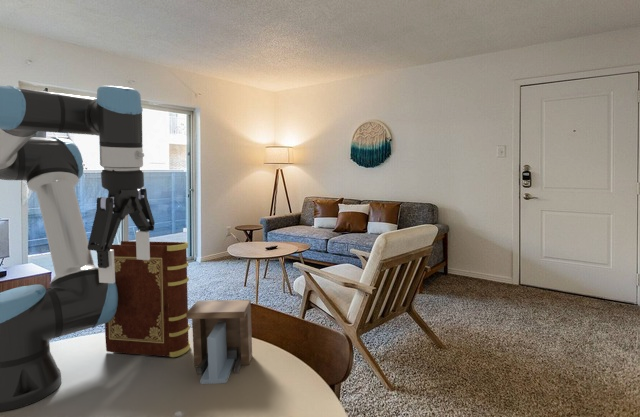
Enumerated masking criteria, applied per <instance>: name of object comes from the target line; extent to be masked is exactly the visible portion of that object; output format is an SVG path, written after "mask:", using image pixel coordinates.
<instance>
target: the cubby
mask: <svg viewBox="0 0 640 417" xmlns="http://www.w3.org/2000/svg"><path fill="white" fill-rule="evenodd" d="M251 301H252V300H251V299H220V300H218V299H214V300H211V299H210V300H197V301H196V302H195V303H193V305H192V306H191V307H190V309H189V308H188V309H189V310H188V312H187V313H186V319H188V320H191V326H192V329H191V330H192V346H193V347H192V348H193V351H192V352H193V365H194V367H197V369H196V373H197V375H202V374H203V373H204V372H205V371H204V370H206V368H207V366H208V346H207V338H208V336H209V335H210V333H211V332H212V330H213V329H214V327H215V325H216V324H217V322H226V342H227V359H235V363H234V366H233V374H239V372H240V369H241V368H242V366H250V363H251V362H252V358H253V339H252V337H253V336H252V335H253V334H252V310H251V309H252V308H251V306H252V305H251V303H252V302H251Z"/></svg>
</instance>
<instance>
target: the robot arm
mask: <svg viewBox="0 0 640 417" xmlns="http://www.w3.org/2000/svg"><path fill="white" fill-rule="evenodd" d="M38 132H45V133H46V132H47V133H60V134H63V133H64V134H73V135H74V134H75V135H90V136H99V137H98V140H99V165H100V166H101V167H102V170H101V171H100V176H101V177H100V179H101V187H102V188H103V189H105V190H107V191H108V193H107V197H105V196H98V197H97V198H96V210H95V215H94V218H93V222H92V223H93V224H92V228H91V232H90V235H89V239H88V235H87V231H86V228H85V224H84V220H83V216H82V213H81V208H80V205H79V200H78V196H77V193H76V189H75V187H76V186H77V185H78V184H79V182H80V181H79V180H80V179H81V178H82V176H83V174H84V165H83V163H84V161H83V160H84V159H83V156H82V153H81V151H80V149H79V147H78V146H77V145H76V143H75V142H73V141H72V140H70V139H67V138H59V137H54V136H53V137H39V136H35V134H36V133H38ZM143 147H144V145H143V107H142V97H141V93H140V91H139V90H138V89H135V88H132V87H131V88H130V87H124V86H116V85H115V86H114V85H100V86H99V87H98V88H97V90H96V97H90V96H82V95H77V94H76V95H74V94H69V93H68V94H67V93H59V92H52V91H45V90H38V89H31V88H23V87H18V86H13V85H0V180H4V181H26V184H27V187H28V189H29V190H30V191H32V192H35V193H36V195H37V200H38V204H39V209H40V214H41V218H42V221H43V226H44V232H45V236H46V239H47V243H48V244H47V245H48V248H49V252H50V257H51V261H52V266H53V269H54V273H55V275H54V277H53V278H52V280H51V281H50V282H49V286H50V288H48V289H46V287H45V285H42V284H30V285H23V286H18V287H14V288H11V289H8V290H4V291H1V292H0V412H6V411H10V410H11V411H12V410H15V409H18V408H23V407H25V406H28V405H31V404H33V403H36V402H39V401H40V400H42V399H45V398H46V397H48V396H50V395H51V394H53V393H54V392H55V391H57V390H58V388H59V387H60V386H61V384H62V372H61V370H60V368H59V367H58V365H57V363H56V360H55V358H54V356H53V354H52V352H51V346H50V340H53V339H56V338H60V337H61V338H62V337H63V336H67V335H70V334H74V333H77V332H81V331H84V330H88V329H95V328H96V327H99V326H102V325H105V323H107V322H109V321H111V320H112V319H113V317H114V315H115V313H116V310H117V305H118V291H117V286H116V283H115V265H114V250H111V246H112V245H114V244H113V243H114V241H115V238H116V235H117V232H118V230H119V227H120V225H121V222H122V221H123V220H125V218H126V216H128V215H129V217H130V218H131V220H132V222H133V223H134V225H135V226H136V228H137V230H135V241H136V255H137V259H139V260H149V259H150V242H151V241H150V231H151V232H153V231H155V223H156V222H155V219H154V216H153V212H152V210H151V207H150V202H149V200H148V194H147V188H145V187H144V186H145V174H144V171H143V169H141V168H142V167H143V166H144V157H145V154H144V151H143ZM105 244H106V245H105ZM91 251H95V252H96V256H97V258H96V260H97V266H96V265H95V263H94V259H93V254H92V252H91Z"/></svg>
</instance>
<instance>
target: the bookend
mask: <svg viewBox="0 0 640 417" xmlns="http://www.w3.org/2000/svg"><path fill="white" fill-rule="evenodd" d="M207 346H208V363H207V366H206V368H205V369H204V370H205V371H203V373H202V374H203V375H202V376H201V378H200V384H201V385H202V384H203V385H204V384H227V382H228V380H229V378H230V375H231V373H232V370H233V369H234V366H235V364H236V362H235V359H227V342H226V322H217V324H216V325H215V327H214V329H213V330H212V332H211V333H210V335H209V336H208V338H207Z"/></svg>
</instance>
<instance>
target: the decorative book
mask: <svg viewBox="0 0 640 417" xmlns="http://www.w3.org/2000/svg"><path fill="white" fill-rule="evenodd" d="M149 242H150V259H149V260H139V259H137V255H136V240H134V241H133V240H129V241H128V240H123V241H121V240H120V244H112V246H111V250H114V265H115V283H116V286H117V291H118V305H117V310H116V313H115V315H114V317H113V319H112V320H111V321H109V322H107V323H105V324H104V332H105V333H104V335H105V350H106V352H107V353H119V354H128V355H129V354H130V355H141V356H142V355H144V356H157V357H158V356H159V357H169V358H177V357H180V356H182V355H185V353H187V352H189V351H190V346H191V342H190V341H189V331H190V328H191V325H190V324H189V319H186V313H187V312H188V310H189V303H188V302H189V300H188V297H189V296H188V282H189V281H190V279H189V276H188V267H189V261H188V259H187V258H188V257H187V256H188V254H187V253H188V252H187V250H188V248H189V243H188V241H183V242H182V241H180V242H179V241H149ZM105 245H106V244H105Z"/></svg>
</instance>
